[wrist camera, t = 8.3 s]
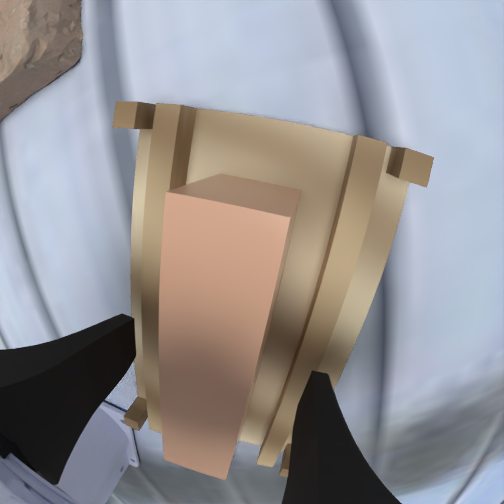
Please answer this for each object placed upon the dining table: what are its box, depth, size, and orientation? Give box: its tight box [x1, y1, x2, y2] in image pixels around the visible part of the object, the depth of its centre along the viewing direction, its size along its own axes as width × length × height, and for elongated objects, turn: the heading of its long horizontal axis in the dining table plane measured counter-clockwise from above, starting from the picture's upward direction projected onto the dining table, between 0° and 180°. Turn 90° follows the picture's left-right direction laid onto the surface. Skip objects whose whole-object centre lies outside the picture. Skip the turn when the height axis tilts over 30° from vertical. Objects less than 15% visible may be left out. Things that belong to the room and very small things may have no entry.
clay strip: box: [159, 174, 302, 480], centre depth 12 cm, size 13×3×4 cm, turn 170°
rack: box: [113, 101, 434, 477], centre depth 14 cm, size 18×11×3 cm, turn 170°
